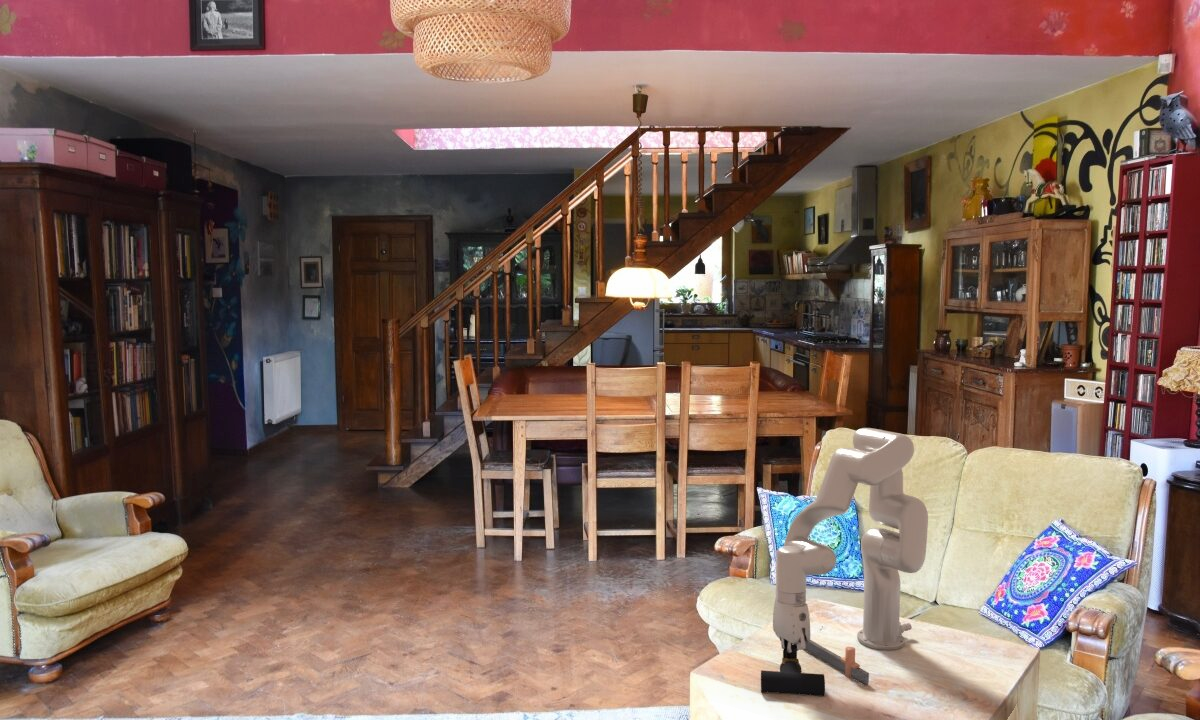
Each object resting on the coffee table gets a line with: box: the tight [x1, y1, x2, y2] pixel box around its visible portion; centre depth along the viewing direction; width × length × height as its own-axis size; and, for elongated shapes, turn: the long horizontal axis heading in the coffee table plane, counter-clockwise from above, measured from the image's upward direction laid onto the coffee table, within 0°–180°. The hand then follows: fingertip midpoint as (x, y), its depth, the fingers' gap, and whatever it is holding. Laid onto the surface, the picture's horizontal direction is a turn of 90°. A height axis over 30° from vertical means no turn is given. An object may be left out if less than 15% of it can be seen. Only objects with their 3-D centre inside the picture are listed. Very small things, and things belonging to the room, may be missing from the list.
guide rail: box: [803, 639, 870, 686], centre depth 221 cm, size 2×24×7 cm, turn 26°
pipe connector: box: [760, 657, 826, 697], centre depth 211 cm, size 12×5×15 cm
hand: (789, 664), depth 219 cm, fingers closed
